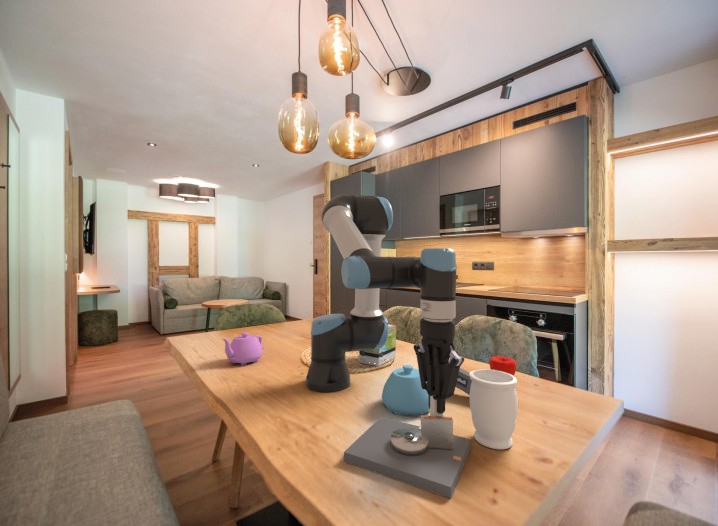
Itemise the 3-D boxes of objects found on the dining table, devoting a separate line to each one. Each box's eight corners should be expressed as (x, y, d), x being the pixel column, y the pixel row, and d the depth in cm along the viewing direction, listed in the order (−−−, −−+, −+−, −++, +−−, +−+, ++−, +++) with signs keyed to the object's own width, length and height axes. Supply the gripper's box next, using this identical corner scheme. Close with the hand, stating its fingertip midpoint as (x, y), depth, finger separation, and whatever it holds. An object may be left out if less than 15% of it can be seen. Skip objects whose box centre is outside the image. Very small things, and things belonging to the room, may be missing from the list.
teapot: (233, 372, 124) (233, 340, 124) (211, 365, 132) (211, 335, 132) (273, 359, 141) (273, 331, 141) (251, 354, 149) (251, 327, 149)
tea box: (379, 367, 130) (379, 330, 130) (358, 363, 136) (358, 327, 136) (396, 358, 143) (396, 324, 143) (376, 354, 148) (376, 322, 148)
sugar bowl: (373, 400, 99) (373, 361, 99) (415, 392, 105) (415, 356, 105) (398, 422, 85) (398, 377, 85) (445, 412, 91) (445, 370, 91)
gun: (477, 430, 97) (497, 389, 94) (413, 380, 113) (427, 343, 109) (482, 427, 100) (501, 386, 96) (418, 378, 115) (432, 341, 112)
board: (343, 461, 68) (343, 451, 68) (380, 424, 83) (380, 415, 83) (451, 498, 57) (451, 486, 57) (470, 448, 73) (470, 438, 73)
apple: (509, 387, 109) (509, 363, 109) (484, 380, 116) (484, 357, 116) (520, 380, 115) (520, 358, 115) (496, 374, 122) (496, 353, 122)
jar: (462, 429, 81) (462, 369, 81) (502, 428, 82) (502, 368, 82) (482, 454, 70) (482, 384, 70) (527, 452, 71) (527, 383, 71)
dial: (390, 453, 67) (390, 423, 67) (390, 433, 75) (390, 406, 75) (455, 458, 65) (455, 427, 65) (449, 437, 73) (449, 409, 73)
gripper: (405, 315, 75) (404, 417, 75) (448, 325, 64) (447, 444, 64) (428, 312, 79) (427, 409, 79) (473, 321, 68) (471, 433, 68)
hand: (436, 425), depth 72 cm, fingers closed
